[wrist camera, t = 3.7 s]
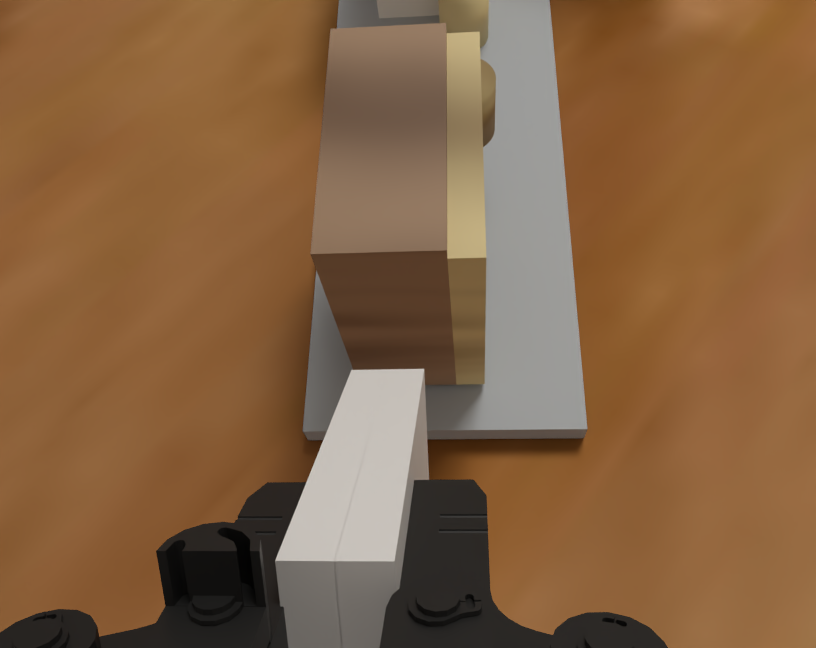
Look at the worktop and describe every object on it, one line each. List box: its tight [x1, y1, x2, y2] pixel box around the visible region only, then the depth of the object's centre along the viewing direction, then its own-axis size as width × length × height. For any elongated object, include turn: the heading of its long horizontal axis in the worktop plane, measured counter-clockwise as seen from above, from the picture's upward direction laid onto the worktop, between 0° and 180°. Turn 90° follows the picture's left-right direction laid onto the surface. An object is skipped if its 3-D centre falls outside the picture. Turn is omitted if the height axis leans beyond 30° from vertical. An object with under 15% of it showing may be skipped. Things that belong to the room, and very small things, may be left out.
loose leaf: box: [311, 23, 496, 385], centre depth 26 cm, size 10×5×9 cm, turn 179°
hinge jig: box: [303, 0, 587, 440], centre depth 30 cm, size 29×10×10 cm, turn 179°
